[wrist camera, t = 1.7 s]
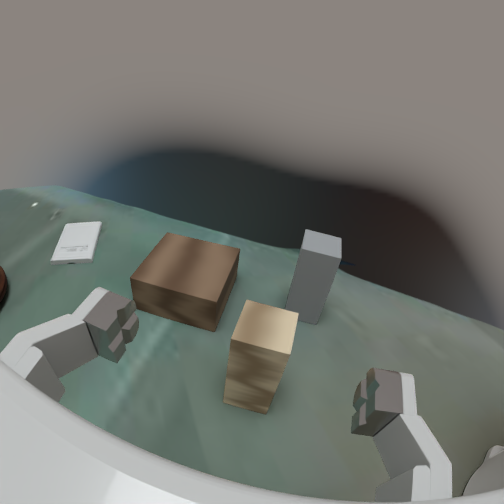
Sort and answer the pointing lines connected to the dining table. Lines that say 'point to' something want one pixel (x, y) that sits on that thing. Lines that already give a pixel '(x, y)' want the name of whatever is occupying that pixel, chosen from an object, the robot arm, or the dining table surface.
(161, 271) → the walnut base block
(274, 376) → the maple block
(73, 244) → the external hard drive
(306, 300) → the grey block
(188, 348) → the dining table surface
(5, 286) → the dark brown tall piece
